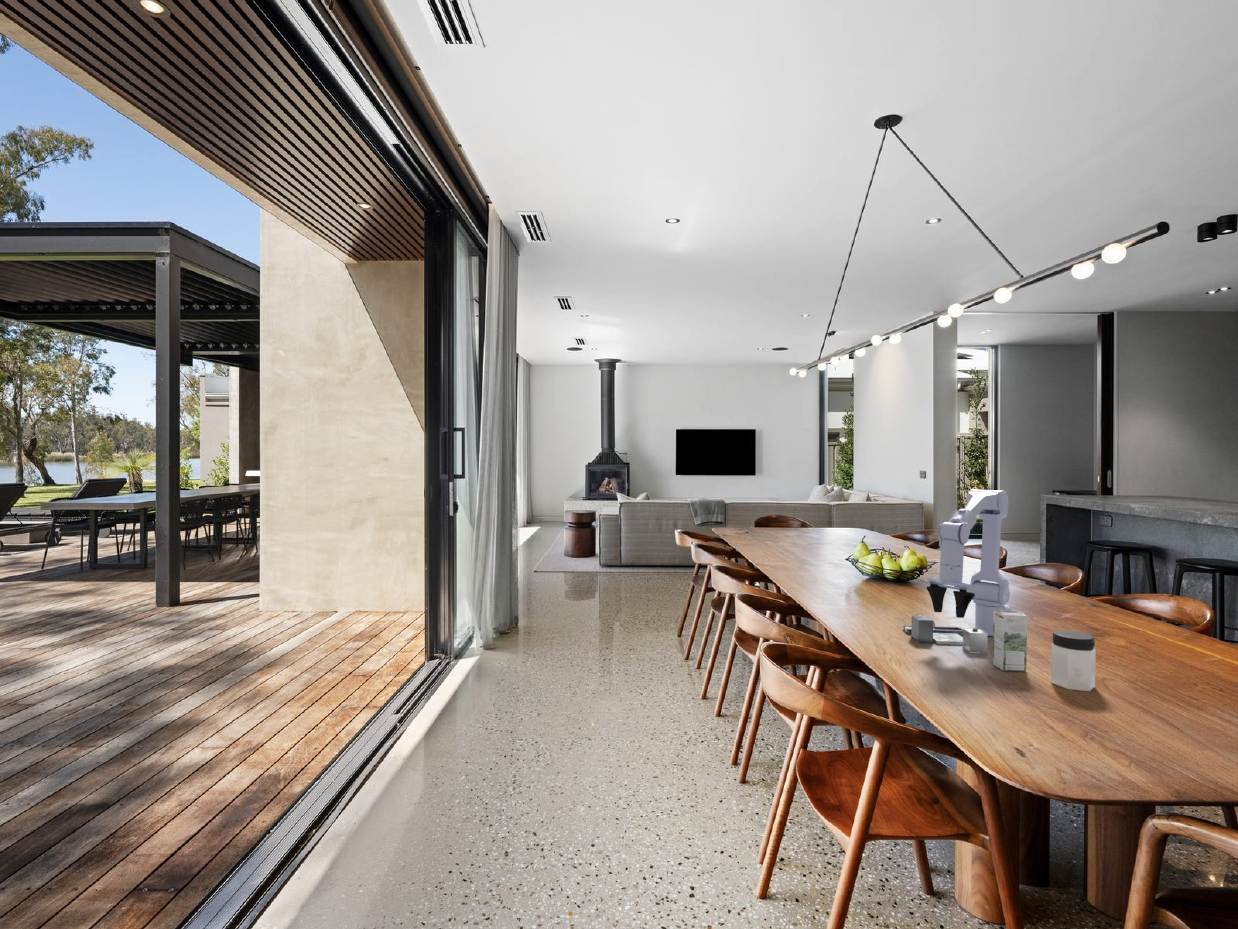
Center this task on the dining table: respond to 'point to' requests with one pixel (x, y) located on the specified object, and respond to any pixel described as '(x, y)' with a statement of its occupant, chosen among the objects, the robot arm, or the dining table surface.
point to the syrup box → (1010, 640)
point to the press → (933, 631)
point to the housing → (975, 640)
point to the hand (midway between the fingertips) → (948, 614)
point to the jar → (1073, 660)
